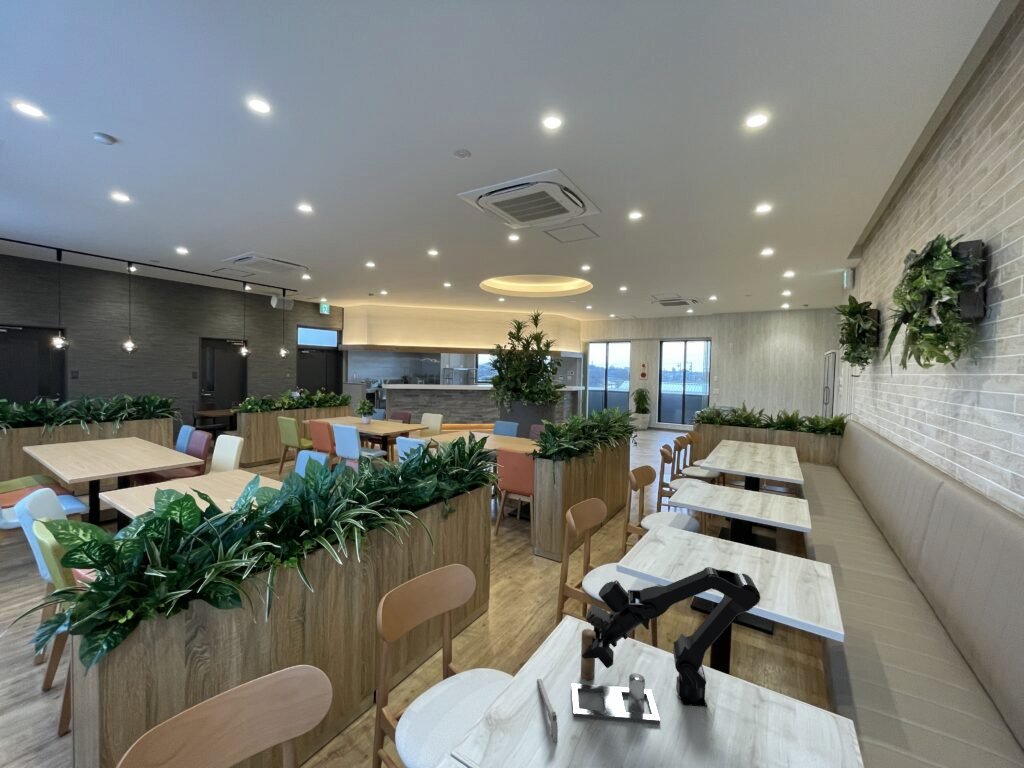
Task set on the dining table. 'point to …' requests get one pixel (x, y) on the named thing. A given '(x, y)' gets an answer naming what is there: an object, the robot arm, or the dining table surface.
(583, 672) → the walnut pin
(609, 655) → the robot arm
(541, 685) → the caliper
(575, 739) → the dining table surface
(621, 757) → the dining table surface
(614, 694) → the plate
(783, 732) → the dining table surface
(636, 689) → the steel pin
